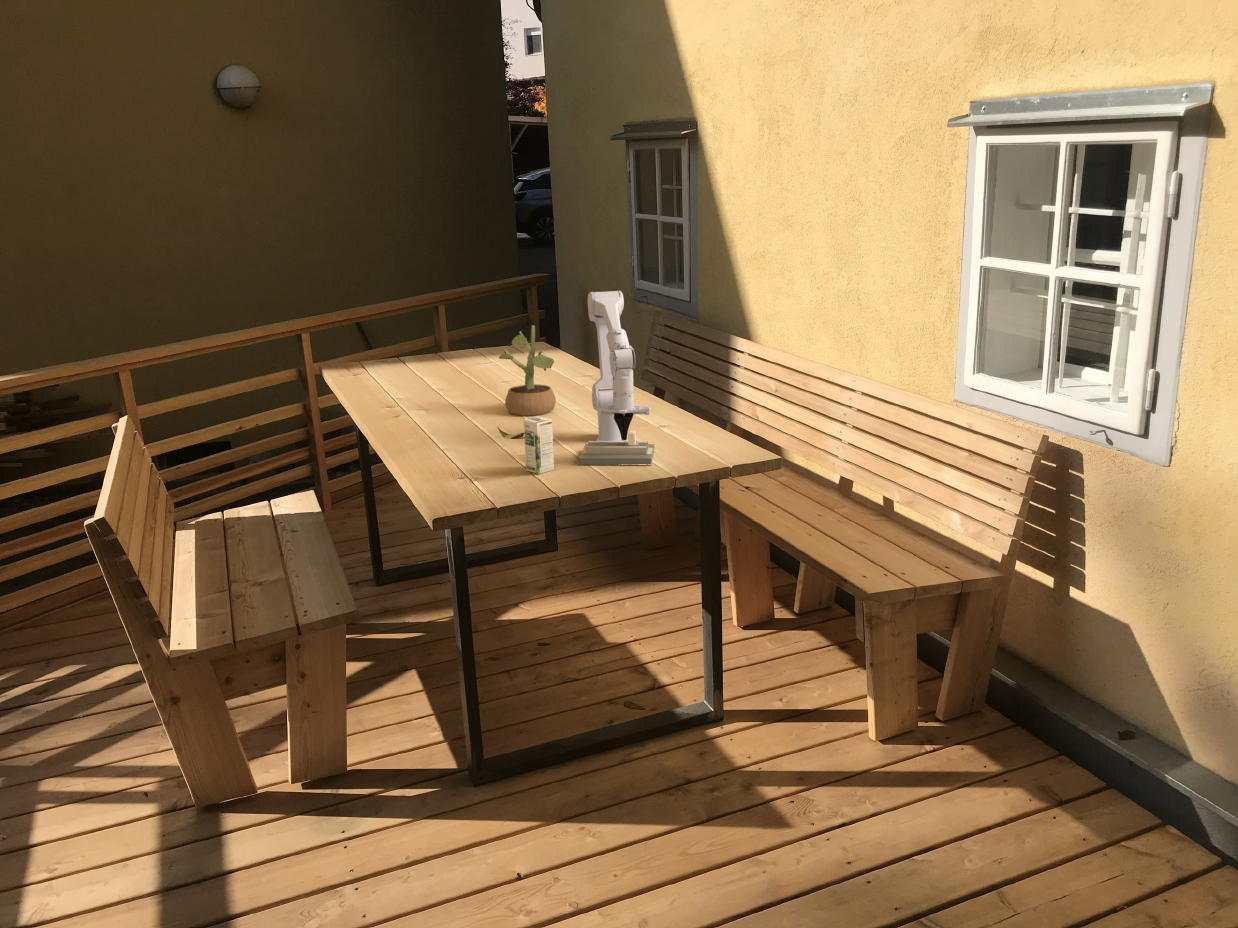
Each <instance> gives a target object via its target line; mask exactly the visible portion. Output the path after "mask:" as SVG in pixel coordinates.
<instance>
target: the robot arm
mask: <svg viewBox="0 0 1238 928" xmlns="http://www.w3.org/2000/svg"><path fill="white" fill-rule="evenodd" d="M624 304H625V300H624V294H623V292H622V291H621V290H620V289H619V290H615V291H614V290H611V291H610V290H609V291H589V293H588V295H587V309H588V311H587V312H588V318H589V321H590V322H593V323H595V327H596V332H597V334H596V336H597V345H598V347H597V348H598V360H599V373H600V374H599V375H600V377H599V379H597V381H595V383H593V384H592V387H591V389H592V391H591V400H592V401H591V403H592V408H593V409H594V411H596V413H597V420H598V422H597V424H598V425H597V427H598V435H597V438H596V440H595V441H628V433H629V428H630V425H631V422H632V421H633V420H632V419H633V417H634V415H645V416H650V414H651V406H640V405H635V403H634V401H635V398H634V370H635V368H636V354H635V349H634V347H632V345H630V343H629V339H628V336H627V331H626V330H625V329H623V328H622V327H621V326H622V325H621V321H620V318H621V315H622V313H623V311H624V306H625V305H624ZM602 388H603V389H602Z"/></svg>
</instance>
